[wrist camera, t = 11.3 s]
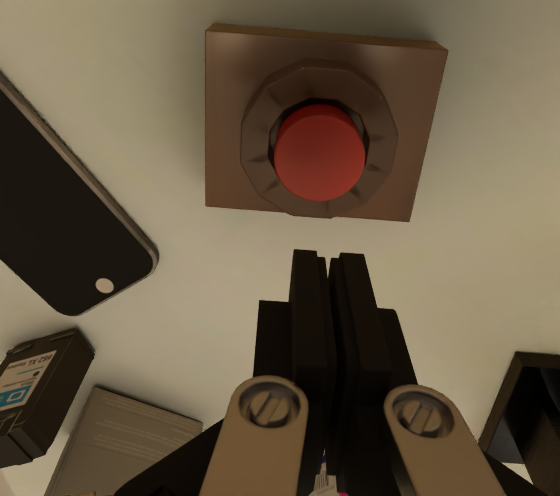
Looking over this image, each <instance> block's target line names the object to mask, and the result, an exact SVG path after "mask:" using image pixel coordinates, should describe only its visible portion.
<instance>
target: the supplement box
mask: <svg viewBox="0 0 560 496" xmlns="http://www.w3.org/2000/svg"><path fill="white" fill-rule="evenodd" d="M309 496H348V495H347V494H346V493H337V487H336V476H329V475H327V473H326V461H325V457H323V459H322V465H321V471H320V474H319V475H316V479H315V485H314V491H313V492H312V493H311V494H310V495H309Z"/></svg>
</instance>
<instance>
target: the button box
mask: <svg viewBox="0 0 560 496" xmlns="http://www.w3.org/2000/svg"><path fill="white" fill-rule="evenodd" d="M447 55H448V50H447V49H446V48H444V47H443V46H442V45H440V44H439V43H437V42H436V41H424V40H412V39H400V38H388V37H376V36H363V35H351V34H339V33H327V32H315V31H302V30H290V29H278V28H266V27H254V26H241V25H229V24H217V23H213V24H212V25H211V26H209V27H208V28H207V29H206V30H205V205H206V206H207V207H220V208H233V209H246V210H259V211H272V212H284V213H287V214H289V215H292V216H302V217H315V218H329V219H331V218H333V217H349V218H362V219H375V220H388V221H401V222H409V221H410V217H411V213H412V209H413V204H414V200H415V195H416V191H417V187H418V182H419V178H420V173H421V169H422V165H423V160H424V156H425V152H426V147H427V143H428V138H429V134H430V130H431V125H432V121H433V116H434V112H435V108H436V103H437V99H438V95H439V90H440V86H441V81H442V77H443V73H444V68H445V64H446V59H447ZM311 104H327V105H331V106H334V107H337V108H339V109H341V110H342V111H344V112H345V113H346V114H348V115H349V116H350V117H351V118H352V120H353V121H354V123H355V124H356V126H357V128H358V131H359V134H360V137H361V140H362V143H363V146H364V150H365V164H364V168H363V171H362V174H361V176H360V178H359V179H358V181H357V182H356V184H355V185H354V186H353V187H352V188H351V189H350V190H348V191H347V192H346V193H344V194H343V195H341V196H339V197H337V198H334V199H331V200H327V201H310V200H306V199H303V198H300V197H298V196H296V195H294V194H293V193H291V192H290V191H289V190H287V189H286V188H285V187H284V185H283V184H282V183H281V181H280V180H279V178H278V176H277V173H276V170H275V166H274V152H275V143H276V137H277V133H278V131H279V128H280V126H281V125H282V123H283V122H284V120H285V119H286V118H287V117H288V116H289V115H290V114H292V113H293V112H294V111H296V110H298V109H299V108H302V107H304V106H307V105H311Z"/></svg>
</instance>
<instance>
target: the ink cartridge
mask: <svg viewBox="0 0 560 496" xmlns="http://www.w3.org/2000/svg"><path fill="white" fill-rule="evenodd" d="M6 354H7V356H6V358H5V359H4V361H3V362H2V363H1V365H0V468H4V467H8V466H13V465H22V464H25V463H29V462H32V461H33V459H35V458H38V457H41V456H44V455H45V454H46V452H47V450H48V448H49V447H50V446H51V445H52V443H53V441H54V439H55V437H56V435H57V433H58V431H59V429H60V427H61V425H62V423H63V420H64V418H65V416H66V414H67V412H68V410H69V408H70V406H71V404H72V402H73V400H74V398H75V395H76V393H77V391H78V389H79V387H80V385H81V383H82V381H83V379H84V377H85V375H86V373H87V370H88V368H89V366H90V364H91V362H92V360H93V359H94V356H95V353H94V352H93V351H92V349H91V348H90V347H89V345H88V344H87V342H86V341H85V340H84V338H83V337H82V336H81V334H80V333H79V331H78V330H77V329H72V330H68V331H65V332H61V333H57V334H54V335H50V336H47V337H43V338H40V339H36V340H33V341H29V342H26V343H23V344H20V345H18V346H16V347H15V348H13V349H12V350H9V351H8V352H7V353H6Z"/></svg>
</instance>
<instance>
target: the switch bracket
mask: <svg viewBox="0 0 560 496" xmlns="http://www.w3.org/2000/svg"><path fill="white" fill-rule="evenodd" d="M478 445H479V447H480V449H482V450H483V451H484V452H486V453H487V454H489V455H490V456H492V457H493V458H495V459H496V460H498V461H499V462H503V463H517V464H525V467H526V469H527V471H528V473H529V476H530V478H531V480H532V483H533V485H534V486H535V487H537V488H538V489H540V490H541V491H543V492H544V493H546V494H547V495H548V496H560V355H547V354H533V353H519V352H516V353H515V356H514V358H513V361H512V363H511V366H510V368H509V370H508V373H507V375H506V378H505V380H504V383H503V385H502V388H501V390H500V393H499V395H498V397H497V400H496V402H495V405H494V407H493V410H492V412H491V415H490V417H489V419H488V422H487V424H486V427H485V429H484V432H483V434H482V437H481V439H480V441H479V444H478Z"/></svg>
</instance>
